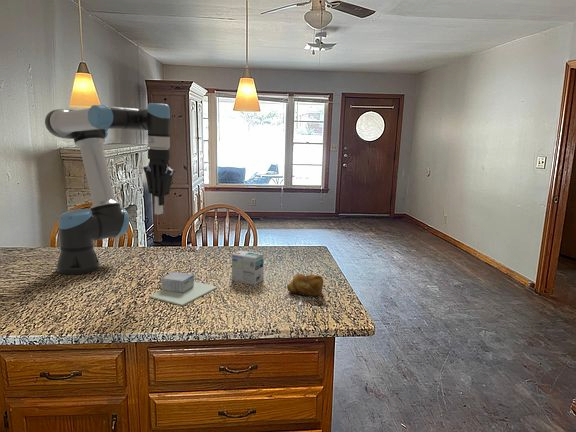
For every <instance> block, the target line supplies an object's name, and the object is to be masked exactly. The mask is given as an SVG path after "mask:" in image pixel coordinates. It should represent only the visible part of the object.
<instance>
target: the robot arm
mask: <svg viewBox="0 0 576 432" xmlns="http://www.w3.org/2000/svg"><path fill="white" fill-rule="evenodd" d="M44 125H45V129H47V131H48V132H49V133H50V134H52V135H53V136H54V137H57V138H60V139H69V140H71V139H73V142H74V145H75V146H76V147H77V148H79V149H80V154H81V158H82V163H83V166H84V172H85V175H86V181H87V185H88V188H89V192H90V198H91V202H92V205H91V206H90V208H79V209H71V210H67V211H65V212H63V213H61V214H60V215H59V217H58V226H57V227H58V234H59V246H60V247H59V248H60V252H59V256H58V260H57V262H56V263H57V264H56V272H57V273H58V274H61V275H83V274H88V273H92V272H95V271H97V270H98V269H99V268H100V261H99V259H98V256H97V254H96V251H95V249H94V241H99V240H105V239H111V238H116V237H120V236H123V235H125V233H126V232H127V231H128V229H129V227H130V226H129V225H130V217H129V213H128V211H127V210H126V209H125V208H124V207H121V205H120V202H119V201H117V200H115V199H116V198H115V195H114V191H113V186H112V183H111V177H110V174H109V168H108V165H107V161H106V156H105V151H104V147H103V145H104V143H105V142H106V138H107V137H108V135H109V130H113V129H114V130H131V131H132V130H133V131H134V130H135V131H147V147H148V149H147V159H148V165H146V166H143V171H144V173H145V178H146V184H147V189H148V193H149V194H150V195H152V196H153V205H154V215H157V216H158V215H162V214H164V205H165V196H169V195H170V191H171V186H172V181H173V176H174V174H175V171H176V170H175V169H172V168H171V167H170V163H169V160H170V158H171V157H170V156H171V150H170V148H171V109H170V106H169V105H168V104H166V103H158V102H157V103H155V102H149V103H148V104H147V107H146V108H137V107H136V108H135V107H125V106H113V105H105V104H98V105H97V104H94V105H91V106H90V108H89V107H88V108H82V109H69V108H68V109H67V108H58V109H54V110H51V111H50V112H48V113H47V114H46V115H45V118H44Z"/></svg>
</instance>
